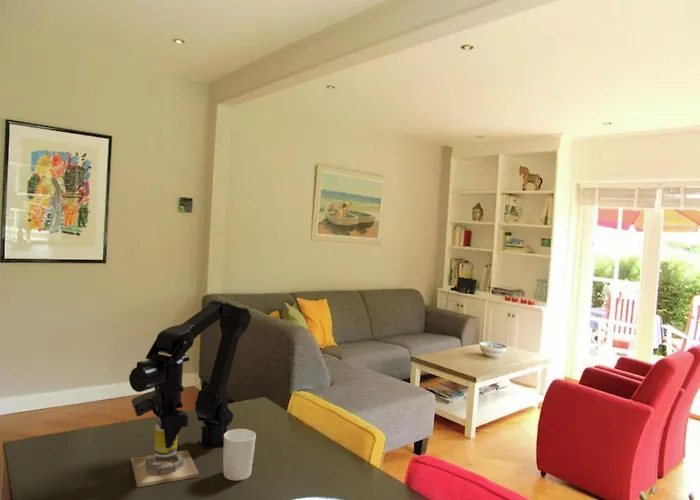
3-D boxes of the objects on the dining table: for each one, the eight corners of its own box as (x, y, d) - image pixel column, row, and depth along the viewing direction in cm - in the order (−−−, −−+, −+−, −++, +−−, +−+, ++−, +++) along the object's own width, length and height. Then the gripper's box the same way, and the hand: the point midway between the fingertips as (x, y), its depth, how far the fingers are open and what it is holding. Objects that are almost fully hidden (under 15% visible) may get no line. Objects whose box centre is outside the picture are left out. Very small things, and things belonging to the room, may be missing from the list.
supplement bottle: (169, 459, 121) (171, 419, 120) (149, 455, 122) (151, 416, 121) (181, 450, 126) (183, 412, 126) (161, 446, 127) (164, 409, 127)
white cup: (237, 485, 118) (240, 444, 118) (214, 475, 122) (216, 435, 122) (259, 473, 125) (262, 434, 125) (237, 464, 129) (239, 426, 129)
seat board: (187, 453, 133) (187, 444, 133) (198, 476, 121) (199, 467, 121) (130, 461, 126) (131, 452, 126) (137, 487, 114) (137, 477, 114)
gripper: (131, 373, 127) (127, 433, 128) (139, 396, 111) (135, 464, 112) (176, 370, 133) (172, 427, 133) (190, 391, 117) (186, 456, 117)
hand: (166, 443), depth 124 cm, fingers closed on supplement bottle, 5 cm apart
